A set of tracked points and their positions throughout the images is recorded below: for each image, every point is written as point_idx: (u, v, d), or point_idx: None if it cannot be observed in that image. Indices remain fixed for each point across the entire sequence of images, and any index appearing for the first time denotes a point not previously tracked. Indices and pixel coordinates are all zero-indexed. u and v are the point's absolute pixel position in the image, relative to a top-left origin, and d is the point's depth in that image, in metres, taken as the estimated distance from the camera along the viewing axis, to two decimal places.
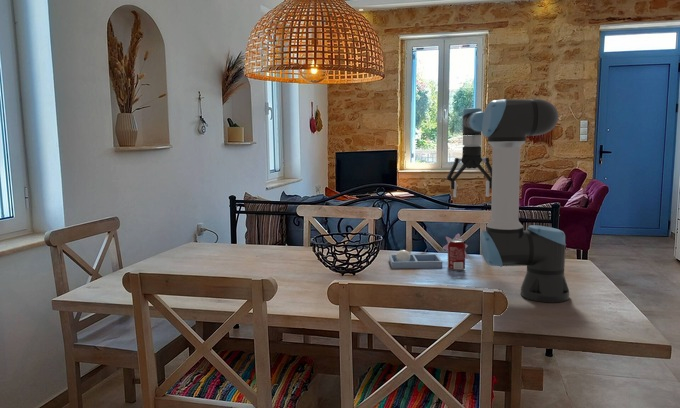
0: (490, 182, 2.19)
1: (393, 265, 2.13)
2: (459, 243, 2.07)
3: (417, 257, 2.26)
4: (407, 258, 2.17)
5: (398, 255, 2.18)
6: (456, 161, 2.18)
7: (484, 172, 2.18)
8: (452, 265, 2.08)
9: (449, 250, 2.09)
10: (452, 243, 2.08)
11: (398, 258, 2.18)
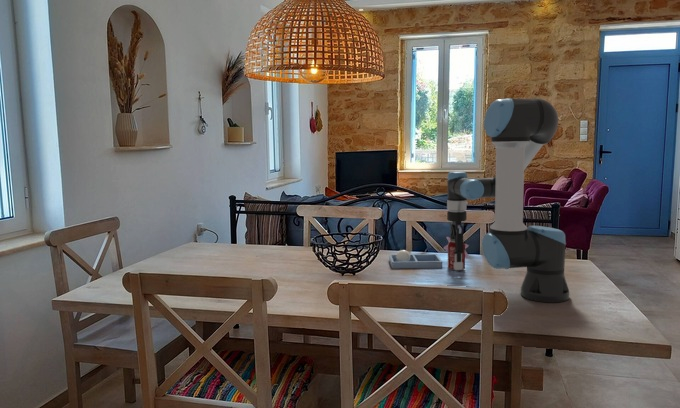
0: (457, 255, 2.06)
1: (393, 265, 2.13)
2: None
3: (417, 257, 2.26)
4: (407, 258, 2.17)
5: (398, 255, 2.18)
6: (450, 226, 2.15)
7: (455, 242, 2.06)
8: (452, 265, 2.08)
9: (449, 250, 2.09)
10: (452, 243, 2.08)
11: (398, 258, 2.18)
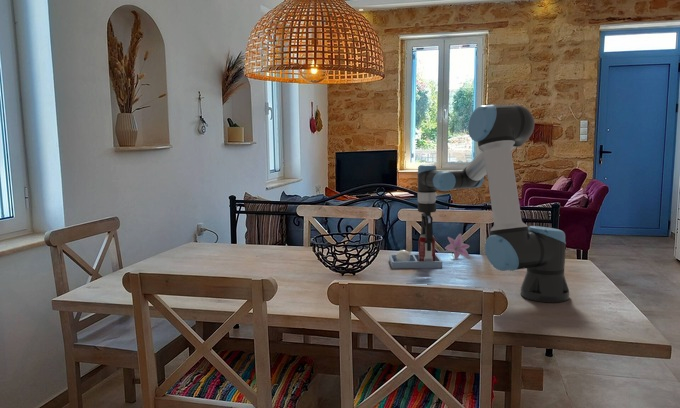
0: (427, 244, 2.13)
1: (393, 265, 2.13)
2: None
3: (417, 257, 2.26)
4: (407, 258, 2.17)
5: (398, 255, 2.18)
6: None
7: (425, 232, 2.14)
8: (422, 259, 2.17)
9: (419, 245, 2.17)
10: (422, 238, 2.16)
11: (398, 258, 2.18)
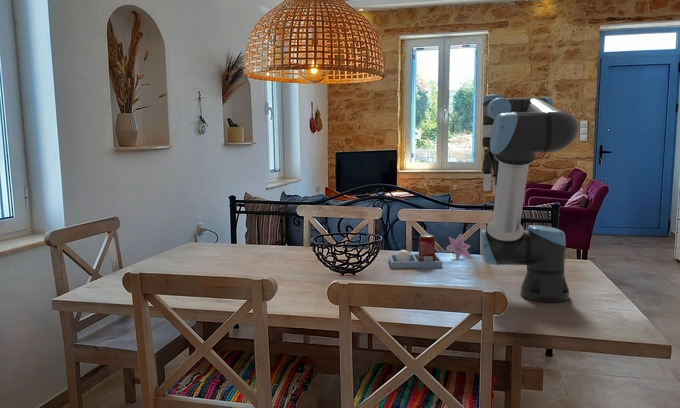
0: (495, 178, 1.93)
1: (393, 265, 2.13)
2: (429, 238, 2.16)
3: (417, 257, 2.26)
4: (407, 258, 2.17)
5: (398, 255, 2.18)
6: None
7: (492, 166, 1.95)
8: (422, 259, 2.17)
9: (419, 245, 2.17)
10: (422, 238, 2.16)
11: (398, 258, 2.18)
